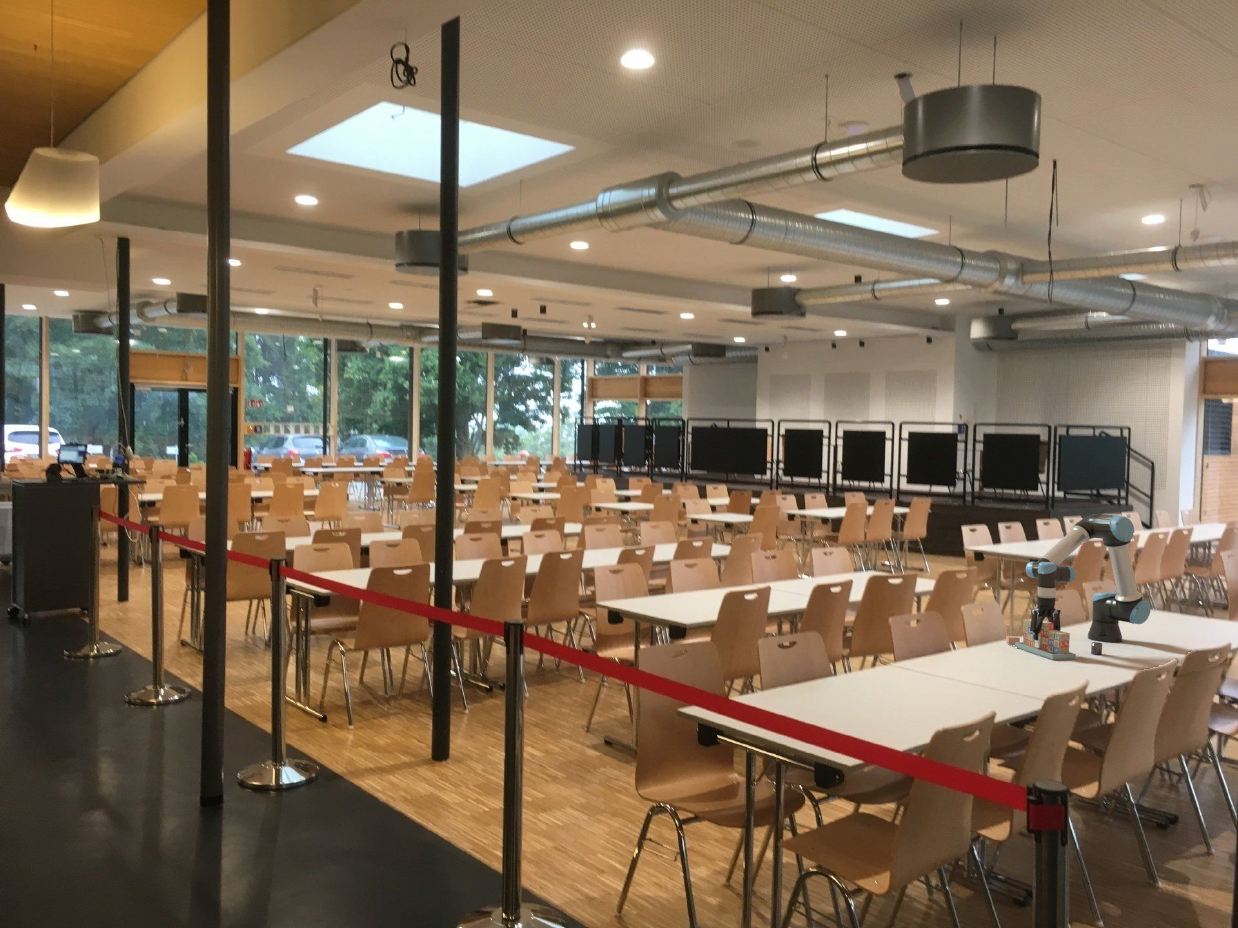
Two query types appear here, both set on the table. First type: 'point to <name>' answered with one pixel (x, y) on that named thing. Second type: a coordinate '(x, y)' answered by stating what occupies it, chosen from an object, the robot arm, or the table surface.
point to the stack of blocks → (1047, 638)
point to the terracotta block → (1012, 640)
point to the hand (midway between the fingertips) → (1044, 646)
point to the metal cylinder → (1096, 648)
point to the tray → (1045, 653)
